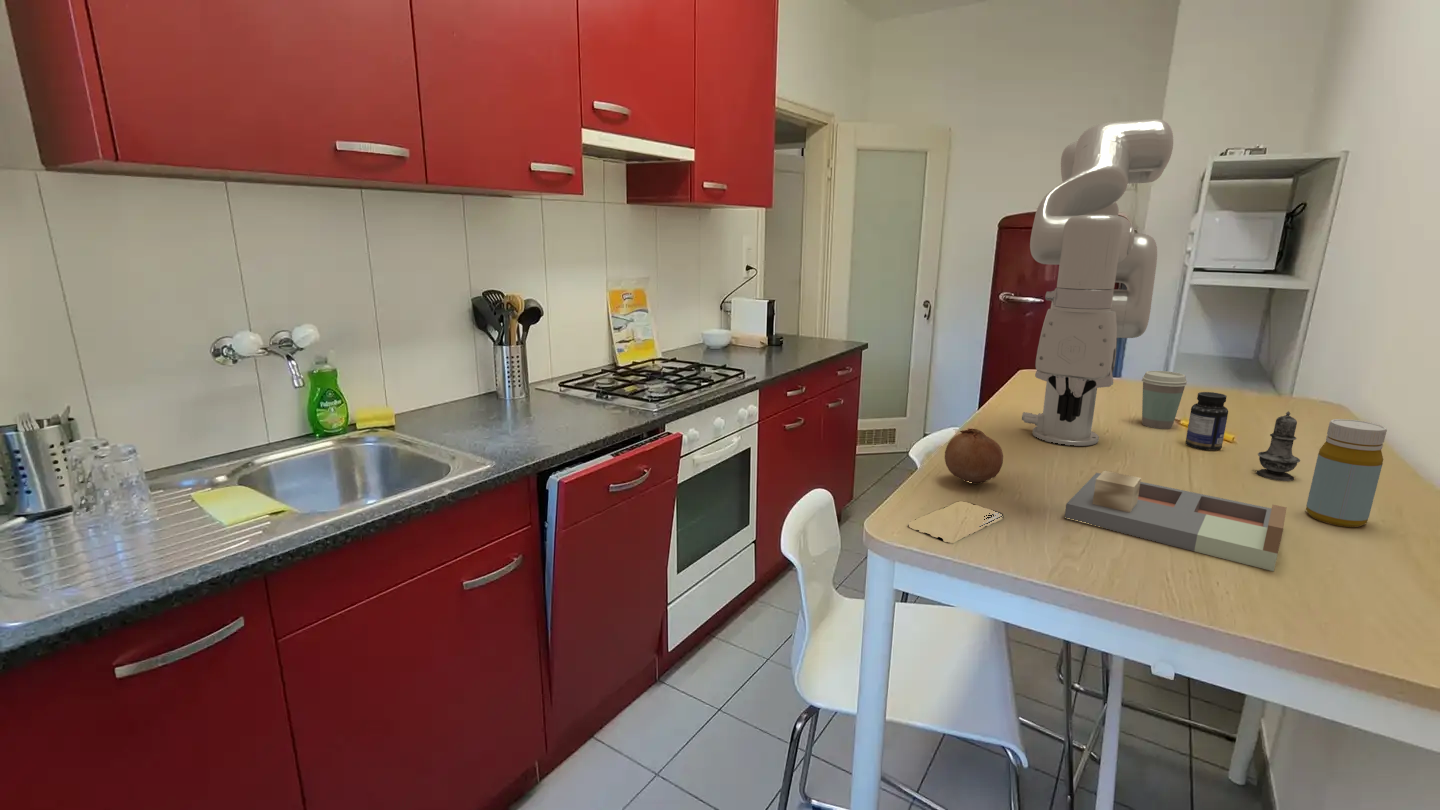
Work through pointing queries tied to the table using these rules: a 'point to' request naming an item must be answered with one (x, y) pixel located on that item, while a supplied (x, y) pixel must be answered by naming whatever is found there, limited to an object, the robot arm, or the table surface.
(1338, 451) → the bottle
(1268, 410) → the table surface
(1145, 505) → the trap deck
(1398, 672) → the table surface
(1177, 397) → the coffee cup
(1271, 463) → the salt shaker
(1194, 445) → the pill bottle
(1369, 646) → the table surface
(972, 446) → the onion
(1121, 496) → the maple block
